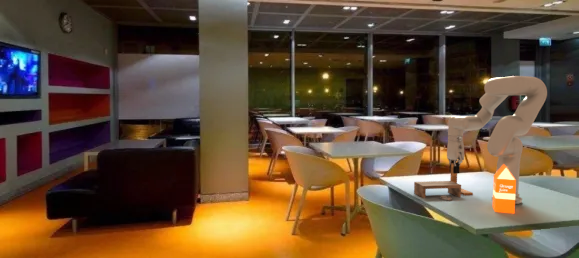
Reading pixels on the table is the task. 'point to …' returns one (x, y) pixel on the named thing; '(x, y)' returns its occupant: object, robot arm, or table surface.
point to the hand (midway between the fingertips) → (454, 172)
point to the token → (446, 198)
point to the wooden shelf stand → (437, 187)
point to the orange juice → (504, 191)
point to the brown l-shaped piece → (454, 179)
